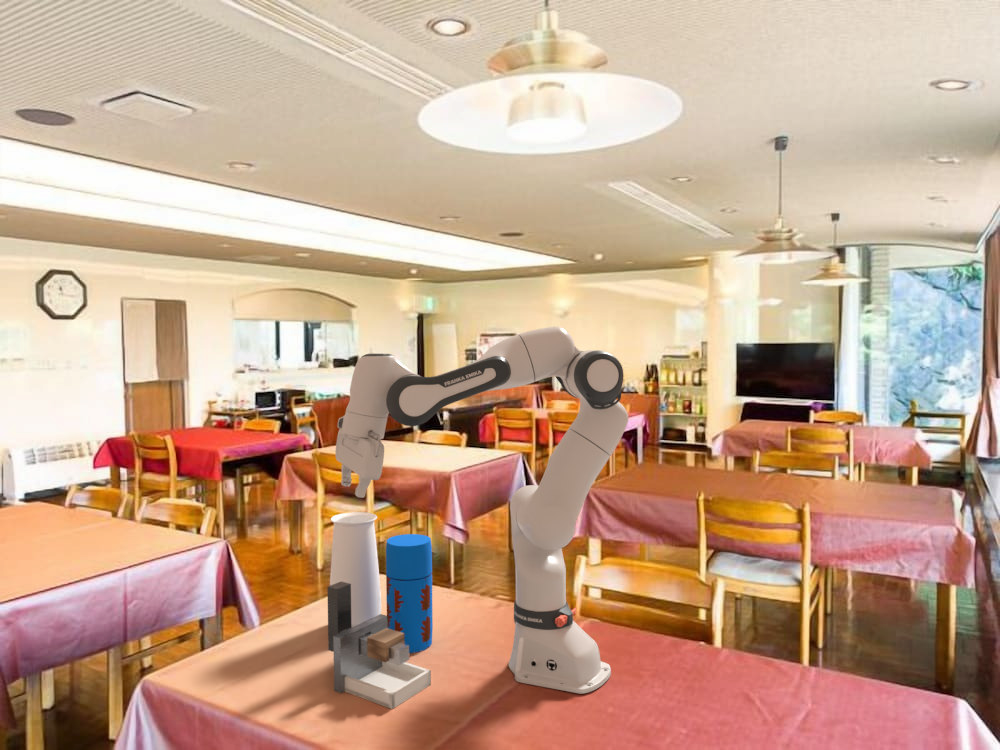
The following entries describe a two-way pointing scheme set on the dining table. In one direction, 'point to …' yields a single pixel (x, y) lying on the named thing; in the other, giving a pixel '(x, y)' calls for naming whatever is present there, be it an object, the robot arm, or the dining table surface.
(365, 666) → the bearing wall
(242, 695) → the dining table surface
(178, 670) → the dining table surface
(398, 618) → the thermos
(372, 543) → the vase
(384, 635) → the block
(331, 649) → the shaft
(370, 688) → the tray
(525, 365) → the robot arm
